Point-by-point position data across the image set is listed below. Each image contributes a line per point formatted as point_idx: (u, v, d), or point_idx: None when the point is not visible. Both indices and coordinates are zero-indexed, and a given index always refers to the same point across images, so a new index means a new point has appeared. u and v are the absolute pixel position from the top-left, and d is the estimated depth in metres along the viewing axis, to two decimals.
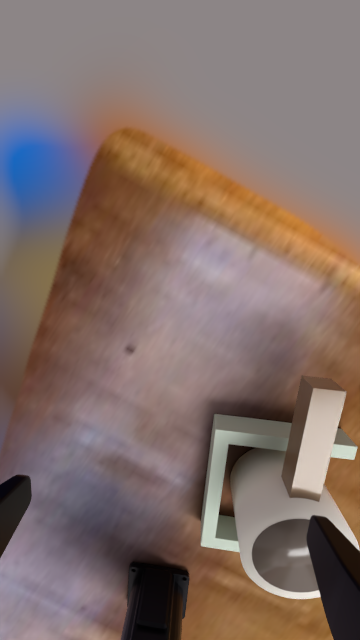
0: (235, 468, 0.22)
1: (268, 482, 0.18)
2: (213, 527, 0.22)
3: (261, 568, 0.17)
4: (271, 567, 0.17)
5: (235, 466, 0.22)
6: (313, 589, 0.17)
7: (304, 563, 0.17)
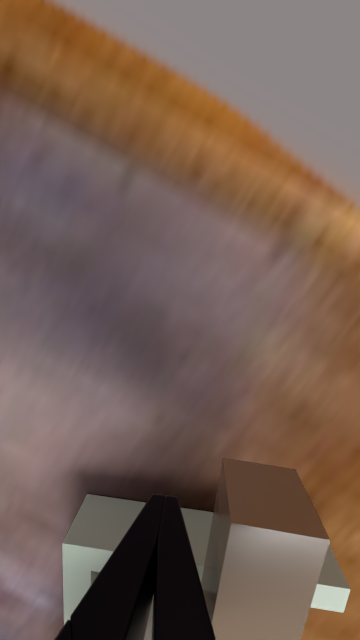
0: None
1: None
2: None
3: None
4: None
5: None
6: None
7: None
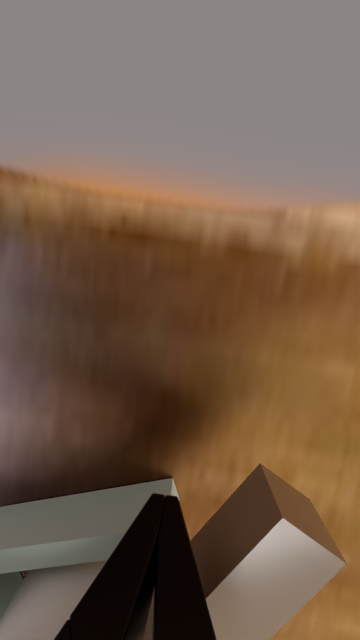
0: None
1: None
2: None
3: None
4: None
5: None
6: None
7: None
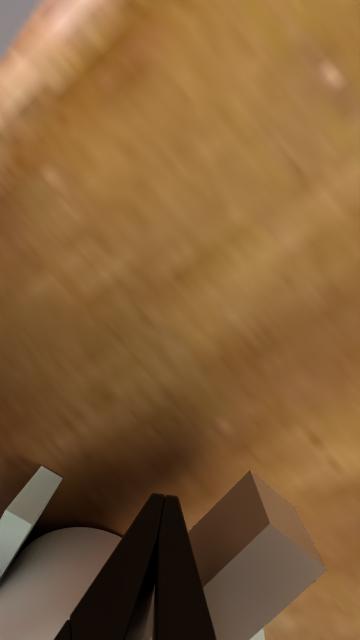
0: (36, 545, 0.12)
1: (56, 633, 0.08)
2: None
3: None
4: None
5: (39, 541, 0.12)
6: None
7: None
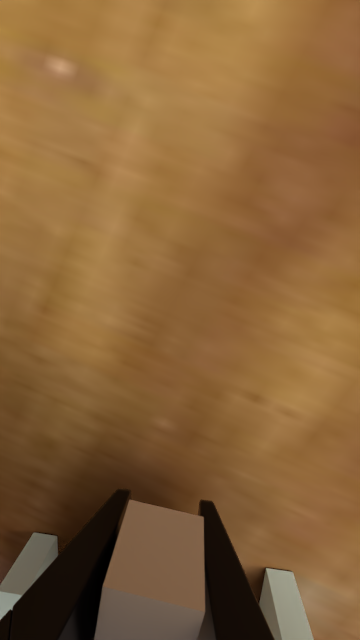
0: None
1: None
2: None
3: None
4: None
5: None
6: None
7: None
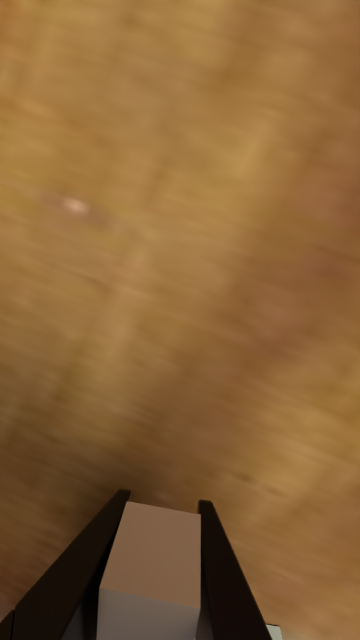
0: None
1: None
2: None
3: None
4: None
5: None
6: None
7: None
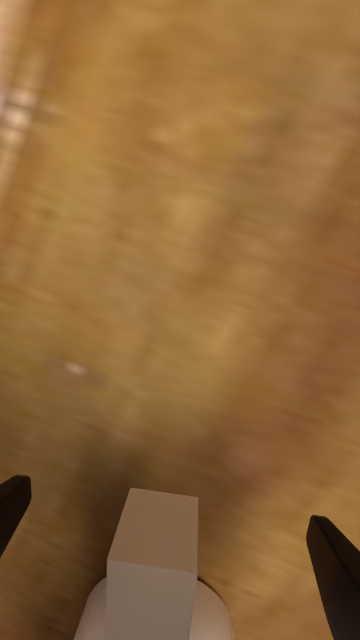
0: (85, 606, 0.12)
1: None
2: None
3: None
4: None
5: (87, 601, 0.12)
6: None
7: None
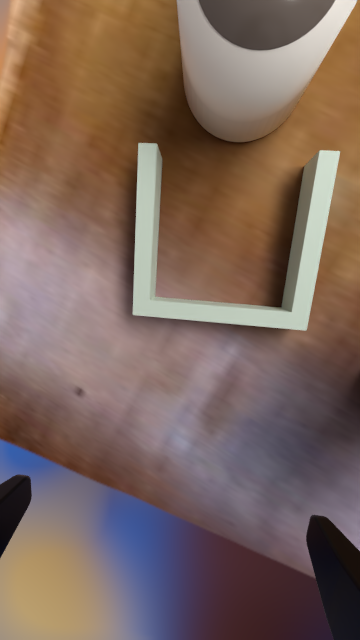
0: None
1: None
2: (273, 314, 0.17)
3: None
4: None
5: None
6: (296, 40, 0.10)
7: None
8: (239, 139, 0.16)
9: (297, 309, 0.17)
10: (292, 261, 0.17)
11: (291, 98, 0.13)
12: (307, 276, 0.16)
